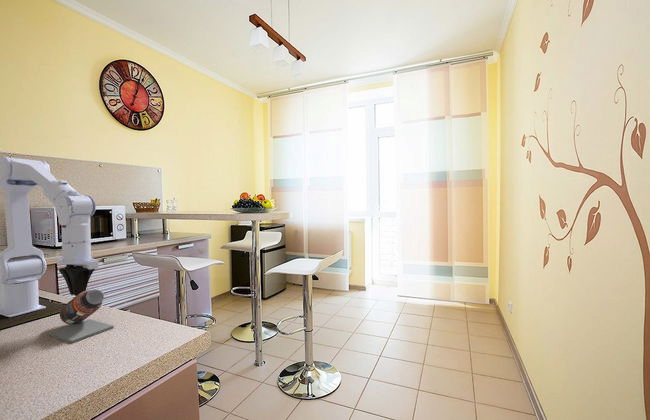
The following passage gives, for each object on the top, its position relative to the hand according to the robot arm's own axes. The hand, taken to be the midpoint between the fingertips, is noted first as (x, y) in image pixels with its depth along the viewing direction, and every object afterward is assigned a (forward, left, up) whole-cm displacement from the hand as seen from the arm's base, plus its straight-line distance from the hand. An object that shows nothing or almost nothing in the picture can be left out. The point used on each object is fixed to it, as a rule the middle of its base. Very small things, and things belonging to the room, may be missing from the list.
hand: (77, 294), depth 77 cm
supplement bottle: (-3, 0, -6) cm, 6 cm away
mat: (+5, -2, -8) cm, 10 cm away
